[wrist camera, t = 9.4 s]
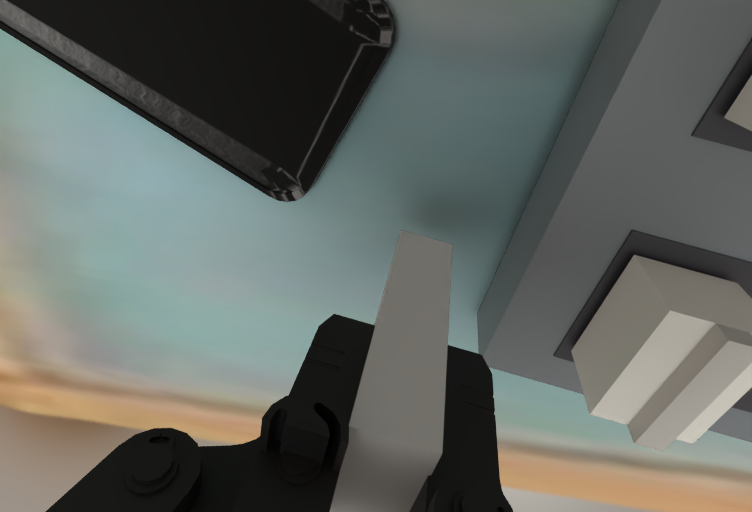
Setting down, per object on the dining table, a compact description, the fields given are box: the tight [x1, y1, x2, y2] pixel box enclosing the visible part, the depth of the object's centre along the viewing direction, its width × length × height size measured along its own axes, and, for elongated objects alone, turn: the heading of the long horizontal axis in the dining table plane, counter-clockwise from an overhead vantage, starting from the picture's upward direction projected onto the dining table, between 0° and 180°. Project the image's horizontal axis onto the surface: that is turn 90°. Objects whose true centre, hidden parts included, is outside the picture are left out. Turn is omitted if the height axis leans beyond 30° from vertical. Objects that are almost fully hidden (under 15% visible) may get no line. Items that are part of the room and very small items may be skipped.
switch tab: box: [571, 255, 752, 452], centre depth 12 cm, size 4×3×3 cm
